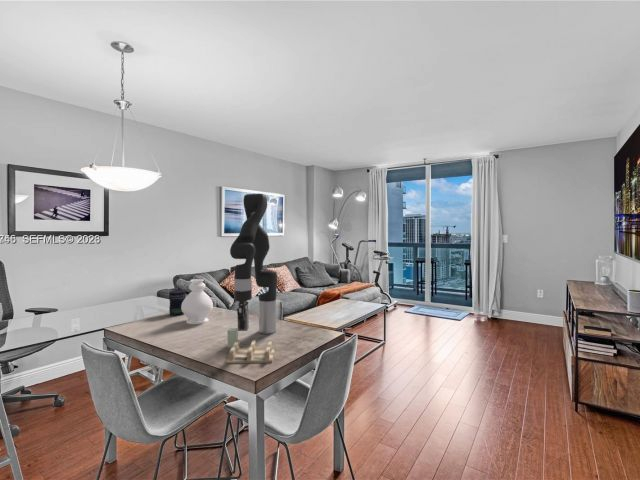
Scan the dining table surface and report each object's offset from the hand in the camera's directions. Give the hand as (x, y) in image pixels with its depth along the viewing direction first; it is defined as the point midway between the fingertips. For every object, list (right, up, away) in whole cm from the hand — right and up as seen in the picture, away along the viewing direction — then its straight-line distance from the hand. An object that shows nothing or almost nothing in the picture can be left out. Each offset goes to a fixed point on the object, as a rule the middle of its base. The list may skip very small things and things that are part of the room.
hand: (243, 327), depth 147 cm
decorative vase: (-40, -11, +55) cm, 68 cm away
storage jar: (-59, -10, +71) cm, 92 cm away
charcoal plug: (0, -1, 0) cm, 1 cm away
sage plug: (-8, -12, +13) cm, 20 cm away
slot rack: (+4, -13, +1) cm, 13 cm away
